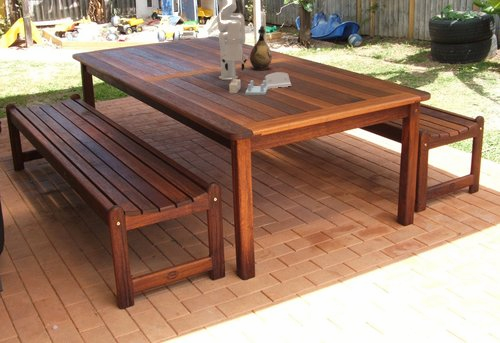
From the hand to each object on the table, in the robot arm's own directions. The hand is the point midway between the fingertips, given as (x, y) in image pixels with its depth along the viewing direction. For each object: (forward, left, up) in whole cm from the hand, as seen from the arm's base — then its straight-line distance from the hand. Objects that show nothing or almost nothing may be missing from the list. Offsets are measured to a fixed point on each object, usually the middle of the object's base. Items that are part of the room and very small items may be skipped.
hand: (234, 70), depth 428 cm
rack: (+2, +14, -13) cm, 19 cm away
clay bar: (-1, 0, -13) cm, 13 cm away
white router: (-12, +25, -13) cm, 31 cm away
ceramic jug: (-71, +8, -13) cm, 72 cm away
